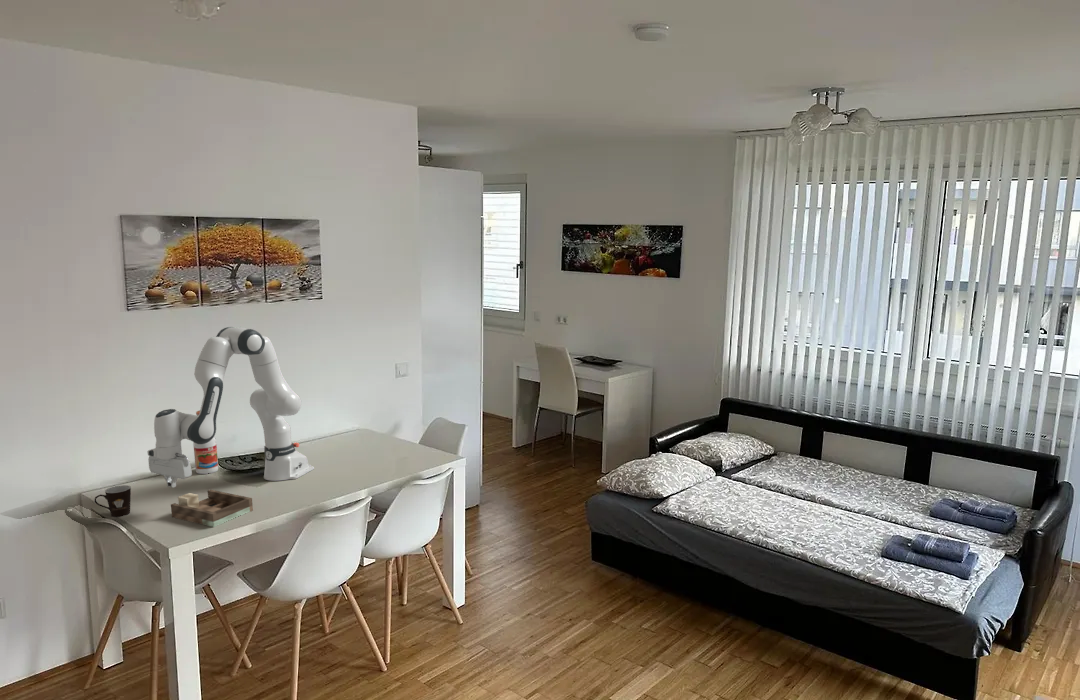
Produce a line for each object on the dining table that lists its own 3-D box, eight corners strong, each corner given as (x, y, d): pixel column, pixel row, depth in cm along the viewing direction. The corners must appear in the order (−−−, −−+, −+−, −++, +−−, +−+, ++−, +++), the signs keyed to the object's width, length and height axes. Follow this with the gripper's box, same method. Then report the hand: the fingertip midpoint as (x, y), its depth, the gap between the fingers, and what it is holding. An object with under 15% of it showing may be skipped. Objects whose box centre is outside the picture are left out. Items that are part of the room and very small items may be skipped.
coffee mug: (137, 509, 288) (135, 485, 287) (126, 517, 280) (123, 492, 278) (107, 510, 288) (104, 485, 287) (95, 518, 280) (92, 493, 278)
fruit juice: (213, 466, 341) (208, 407, 336) (222, 470, 335) (217, 410, 330) (192, 471, 334) (186, 411, 330) (201, 475, 328) (195, 414, 323)
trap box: (171, 517, 280) (170, 504, 279) (211, 501, 296) (210, 489, 295) (214, 527, 270) (212, 514, 269) (252, 510, 286) (252, 498, 285)
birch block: (190, 505, 287) (189, 492, 286) (199, 507, 284) (198, 494, 284) (179, 509, 282) (178, 497, 281) (188, 511, 280) (187, 499, 279)
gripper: (194, 453, 282) (197, 487, 284) (159, 446, 291) (161, 480, 293) (180, 457, 276) (182, 492, 278) (144, 450, 285) (147, 485, 287)
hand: (171, 486), depth 286 cm, fingers closed
